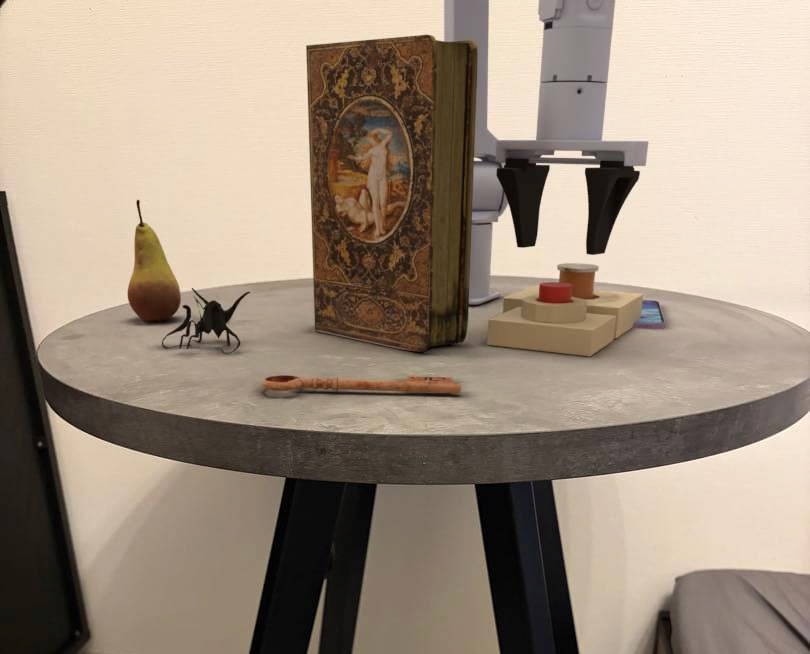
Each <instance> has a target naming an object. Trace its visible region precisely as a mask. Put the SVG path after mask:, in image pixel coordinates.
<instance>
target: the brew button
mask: <svg viewBox="0 0 810 654" xmlns="http://www.w3.org/2000/svg"><path fill="white" fill-rule="evenodd" d="M539 285H540V286H539V299H538V301H539V302H544V303H571V292H572V285H571V284H567V283H559V281H558V282H555V281H554V282H553V281H551V282H550V281H549V282H548V281H547V282H541V283H539Z"/></svg>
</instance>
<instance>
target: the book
mask: <svg viewBox="0 0 810 654" xmlns="http://www.w3.org/2000/svg"><path fill="white" fill-rule="evenodd" d="M305 50H306V84H307V87H306V88H307V113H308V114H307V116H308V140H309V141H308V144H309V145H308V147H309V150H308V151H309V179H310V180H309V182H310V184H309V185H310V210H311V211H310V213H311V214H310V215H311V246H312V247H311V248H312V276H313V279H312V280H313V282H312V283H313V310H314V313H313V314H314V332H318V333H324V334H329V335H333V336H338V337H340V338H341V337H342V338H347V339H352V340H356V341H361V342H366V343H369V344H373V345H374V344H375V345H379V346H383V347H389V348H393V349H399V350H404V351H412V352H417V353H423V352H426V351H428V349H429V348H431V347H437V346H444V345H458V344H463V342H464V341H465V340H466V338H467V333H468V326H469V307H470V304H469V281H470V254H471V226H472V199H473V172H474V161H475V158H474V144H475V117H476V90H477V60H478V50H477V45H476V43H475V42H473V41H469V40H467V41H456V42H445V41H444V40H437V39H436V37H435V36H434V35H432V34H420V35H419V34H417V35H409V36H407V35H406V36H397V37H386V38H374V39H363V40H354V41H353V40H352V41H341V42H330V43H329V42H328V43H318V44H309V45H306V46H305Z"/></svg>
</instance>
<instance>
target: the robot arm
mask: <svg viewBox="0 0 810 654" xmlns="http://www.w3.org/2000/svg"><path fill="white" fill-rule="evenodd" d="M615 7H616V0H538V9H537V14H538V15H539V17H538V20H539V21H540V22H542V23H543V30H542V32H543V33H542V48H541V62H540V73H539V74H540V75H539V92H538V106H537V119H536V132H535V133H536V137H535V139H498V138H497V137H496V136H495V135H494V134H493V133H492V132H491V131H490V129H488V105H489V104H488V102H489V101H488V98H489V97H488V94H489V93H488V91H489V88H488V87H489V27H490V26H489V23H490V21H489V19H490V18H489V17H490V15H489V14H490V0H443V41H445V42H456V41H467V40H469V41H473V42H475V43H476V45H477V50H478V60H477V90H476V117H475V144H474V159H479V160H474V172H473V199H472V226H471V254H470V281H469V305H471V306H472V305H473V306H477V305H481V304H484V303H485V302H488V301H491V300H494V299H497V298H499V297H501V296H502V292H501V291H491V289H490V288H491V269H492V268H491V267H492V249H493V247H492V246H493V231H494V230H493V227H494V226H493V225H494V223H498V222H499V218H500V217H501V216H502V215H503V214H504V213H505V211H506V209H507V208H509V210H510V215H511V219H512V224H513V230H514V235H515V241H516V247H517V248H522V249H523V248H532V247H536V243H537V240H538V232H539V222H540V210H541V203H542V198H543V194H544V190H545V186H546V183H547V179H548V176H549V172H550V167H551V165H550V164H554V165H590V166H599V167H585V169H584V176H585V182H586V190H587V203H588V204H587V205H588V206H587V207H588V208H587V209H588V210H587V211H588V214H587V215H588V216H587V228H586V238H585V251H586V255H589V256H596V255H603V254H605V253H606V250H607V247H608V244H609V240H610V237H611V234H612V232H613V229H614V226H615V224H616V221H617V219H618V217H619V214H620V212H621V210H622V208H623V206H624V204H625V202H626V200H627V198H628V197H629V195H630V193H631V191H632V190H633V188H634V187H635V185H636V184H637V182H638V181H639V179H640V175H641V171H640V170H635V167H646V165H647V159H648V158H647V157H648V149H649V141H648V140H603V134H604V133H603V131H604V123H605V122H604V120H605V113H606V101H607V90H608V80H609V70H610V59H611V47H612V37H613V29H614V18H615ZM555 151H556V152H558V151H561V152H581V156H582V157H581V158H580V157H546V156H555ZM543 156H544V157H543ZM585 157H586V158H585ZM587 157H594V158H587Z"/></svg>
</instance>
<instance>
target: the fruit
mask: <svg viewBox="0 0 810 654" xmlns="http://www.w3.org/2000/svg"><path fill="white" fill-rule="evenodd" d="M140 203H141V201H140V199H137V200H136V202H135V204H136V208H137V212H138V218H139V223H138V224H137V225H136V226H135V232H134V264H133V271H132V274H131V276H130V279H129V283H128V287H127V300H128V303H129V305H130V308H131V310H132V311H133V312H134V313H135V314H136V316H137V317H139V318H140V319H141V320H143V321H147V322H155V321H159V322H161V321H166V320H168V319H170V318H171V317H173V316H174V315H175V314H176V313H177V312H178V310H179V308H180V307H181V302H182V295H181V289H180V286H179V282H178V280H177V278H176V276H175V274H174V272H173V270H172V268H171V266H170V264H169V262H168V260H167V256H166V254H165V251H164V249H163V246H162V244H161V241H160V239H159V237H158V235H157V234H156V232H155V230H154V229H153V228H152V227H151V226H150V225H149V224H148V223H147V222H144V220H143V217H142V212H141V205H140Z"/></svg>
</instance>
